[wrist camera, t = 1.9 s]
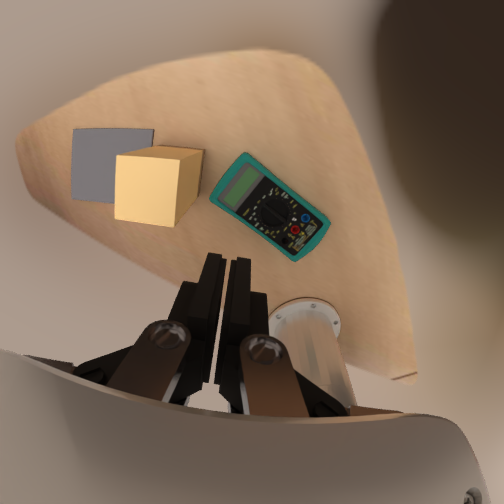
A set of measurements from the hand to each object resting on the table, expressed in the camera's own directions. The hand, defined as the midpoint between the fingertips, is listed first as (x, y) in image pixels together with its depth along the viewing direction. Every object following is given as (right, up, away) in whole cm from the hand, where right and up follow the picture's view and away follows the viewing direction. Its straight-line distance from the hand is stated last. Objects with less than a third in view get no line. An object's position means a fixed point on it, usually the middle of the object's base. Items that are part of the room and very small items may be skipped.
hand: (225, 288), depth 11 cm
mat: (-19, +13, +21) cm, 31 cm away
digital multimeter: (+3, +8, +25) cm, 26 cm away
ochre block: (-8, +12, +22) cm, 26 cm away
